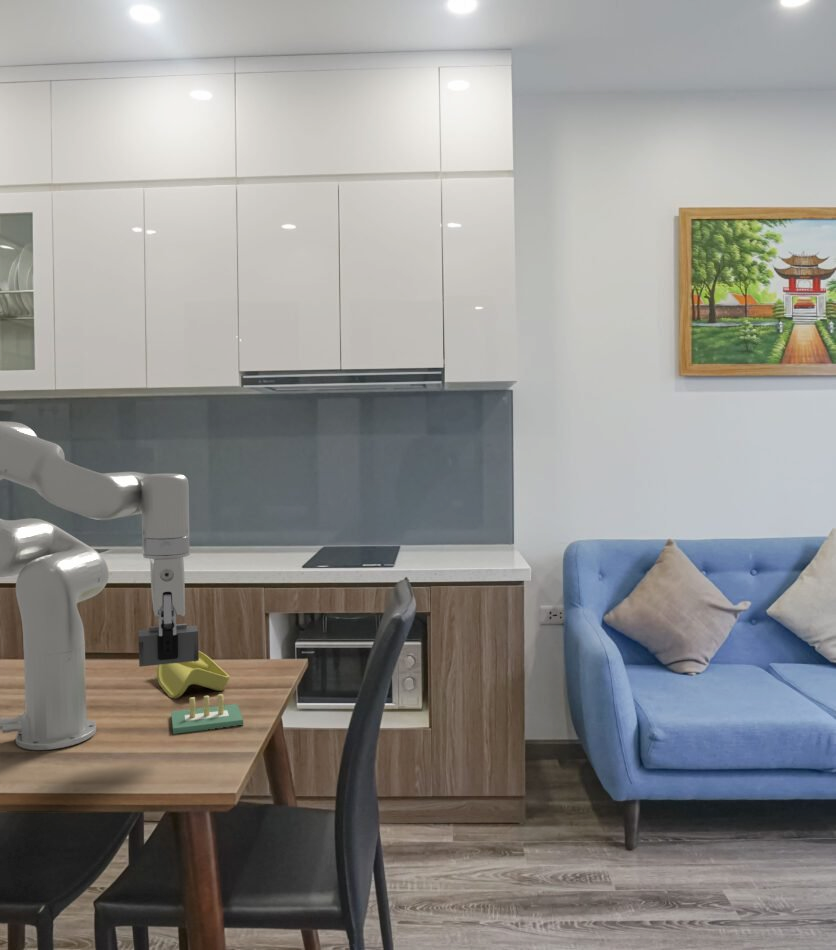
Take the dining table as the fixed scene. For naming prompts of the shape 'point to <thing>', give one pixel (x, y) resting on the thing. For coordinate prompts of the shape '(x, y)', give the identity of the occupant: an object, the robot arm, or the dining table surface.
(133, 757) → the dining table surface
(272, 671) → the dining table surface
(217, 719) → the header
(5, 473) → the robot arm
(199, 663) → the plastic component
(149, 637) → the plug
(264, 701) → the dining table surface
